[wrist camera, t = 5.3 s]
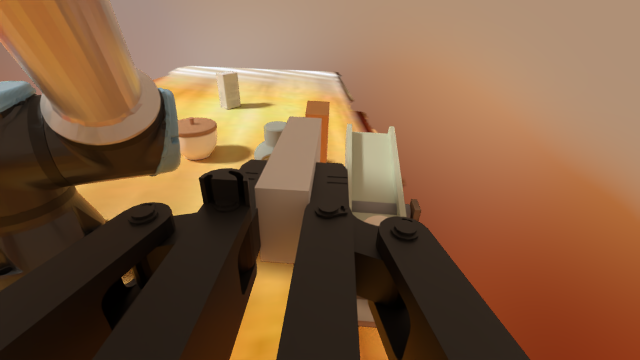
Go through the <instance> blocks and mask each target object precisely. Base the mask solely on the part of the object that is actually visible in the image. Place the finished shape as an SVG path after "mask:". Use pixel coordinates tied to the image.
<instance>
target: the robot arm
mask: <svg viewBox="0 0 640 360" xmlns="http://www.w3.org/2000/svg"><path fill="white" fill-rule="evenodd" d="M0 42H1V44H2V45H3V46H4V47H5V49H6V50H7V51H8V52H9V53H10V54H11V56H12V57H13V58H14V59H15V60H16V62H17V63H18V64H19V65H20V66H21V67H22V69H23V70H24V71H25V72H26V73H27V75H28V76H29V77H30V78H31V79H32V81H33V82H34V83H35V84H36V86H37V87H38V88H39V89H40V90H41V91H42V95H36V94H35V93H36V90H35V88H33V87H32V86H31V85H30V84H29V83H28V82H25V81H4V82H0V360H229V359H230V356H231V353H232V350H233V347H234V344H235V340H236V337H237V334H238V331H239V328H240V325H241V322H242V318H243V315H244V312H245V309H246V306H247V303H248V300H249V296H250V293H251V290H252V287H253V284H254V281H255V278H256V274H257V264H256V259H257V256H258V253H259V250H260V259H261V261H264V262H279V263H293V264H294V268H293V274H292V279H291V284H290V290H289V295H288V300H287V306H286V311H285V316H284V322H283V327H282V332H281V338H280V343H279V348H278V354H277V359H276V360H360V350H359V331H358V313H357V296H360V297H362V298H365V299H367V300H368V306H369V308H370V311H371V314H372V316H373V319H374V322H375V324H376V327H377V330H378V332H379V335H380V338H381V340H382V343H383V346H384V348H385V351H386V354H387V356H388V359H389V360H530V359H529V358H528V356H527V355H526V354H525V352H524V351H523V350H522V349H521V347H520V346H519V345H518V343H517V342H516V341H515V340H514V338H513V337H512V336H511V335H510V333H509V332H508V331H507V329H506V328H505V327H504V325H503V324H502V323H501V322H500V320H499V319H498V318H497V317H496V315H495V314H494V313H493V311H492V310H491V309H490V308H489V306H488V305H487V304H486V302H485V301H484V300H483V299H482V298H481V296H480V295H479V293H478V292H477V291H476V290H475V288H474V287H473V286H472V285H471V283H470V282H469V281H468V279H467V278H466V277H465V275H464V274H463V273H462V272H461V270H460V269H459V268H458V267H457V265H456V264H455V263H454V262H453V260H452V259H451V258H450V256H449V255H448V254H447V252H446V251H445V250H444V249H443V247H442V246H441V245H440V243H439V242H438V241H437V240H436V238H435V237H434V236H433V234H432V233H431V232H430V231H429V230H428V228H426V227H425V226H424V225H423V224H422V223H420V222H418V221H416V220H414V219H411V218H407V217H400V216H394V217H389V218H386V219H384V220H383V221H381V222H380V225H379V226H376V225H373V224H369V223H366V222H364V221H362V220H360V219H358V218H357V217H355V216H354V215H353V214H352V211H351V209H350V207H349V189H348V170H347V169H346V168H345V167H344V165H343V164H340V163H322V162H320V151H321V124H322V118H308V117H289V119H288V121H287V123H286V125H285V127H284V129H283V131H282V133H281V135H280V137H279V139H278V141H277V143H276V145H275V147H274V149H273V151H272V153H271V155H270V158H269V160H252V159H251V160H250V161H248V162H247V163H245V164H243V165H242V166H241V168H240V169H239V170H238V169H232V168H228V169H218V170H213V171H210V172H208V173H205V174H204V175H202V176H201V177H200V178H199V181H200V187H201V192H202V197H203V203H204V204H203V205H202V207H201V208H200V210H199V211H198V212H197V213H192V214H184V215H177V216H173V214H172V210H171V209H170V207H169V206H168V205H166V204H163V203H155V202H152V203H143V204H140V205H137V206H134V207H131V208H130V209H128V210H126V211H124V212H122V213H121V214H119V215H117V216H116V217H114V218H113V219H111V220H110V221H108V222H107V223H105V220H104V218H103V217H102V215H101V214H100V213H99V212H98V211H97V210H96V209H95V208H94V207H93V206H92V205H90V204H89V203H88V202H87V201H86V200H85V199H84V198H83V197H82V196H81V195H80V194H79V193H78V192H77V190H76V188H75V185H82V184H89V183H97V182H104V181H111V180H119V179H126V178H133V177H141V176H148V175H149V176H156V175H158V174H161V173H166V172H172V171H174V170H176V169H177V168H178V167H179V165H180V161H181V154H180V141H179V128H178V119H177V112H176V105H175V99H174V95H173V93H172V92H171V91H170V90H167V89H162V88H157V87H156V85H155V83H154V82H153V80H152V79H151V78H150V77H149V76H148V75H146V74H145V73H144V72H142V71H141V70H139V69H137V68H135V66H134V63H133V61H132V58H131V56H130V53H129V50H128V48H127V45H126V42H125V40H124V37H123V35H122V32H121V29H120V27H119V24H118V21H117V19H116V16H115V14H114V11H113V9H112V6H111V3H110V0H0ZM130 269H131V270H132V273H133V275H134V279H133V280H132V281H131V282H129V283H127V284H124V283H123V281H122V278H121V277H122V276H123V275H124V274H126V273H127V272H128V271H129V270H130Z"/></svg>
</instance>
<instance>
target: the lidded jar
mask: <svg viewBox="0 0 640 360" xmlns="http://www.w3.org/2000/svg"><path fill="white" fill-rule="evenodd" d="M178 128H179V141H180V154H181V155H182V156H184V157H185V158H186V159H189V160H201V159H204V158H207V157H209V156H210V155H211V152H212V151H213V150H214V149H215V147H216V144H217V124H216V122H215V121H213V120H211V119H207V118H193V117H190V118H187V119H181V120H178Z"/></svg>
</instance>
